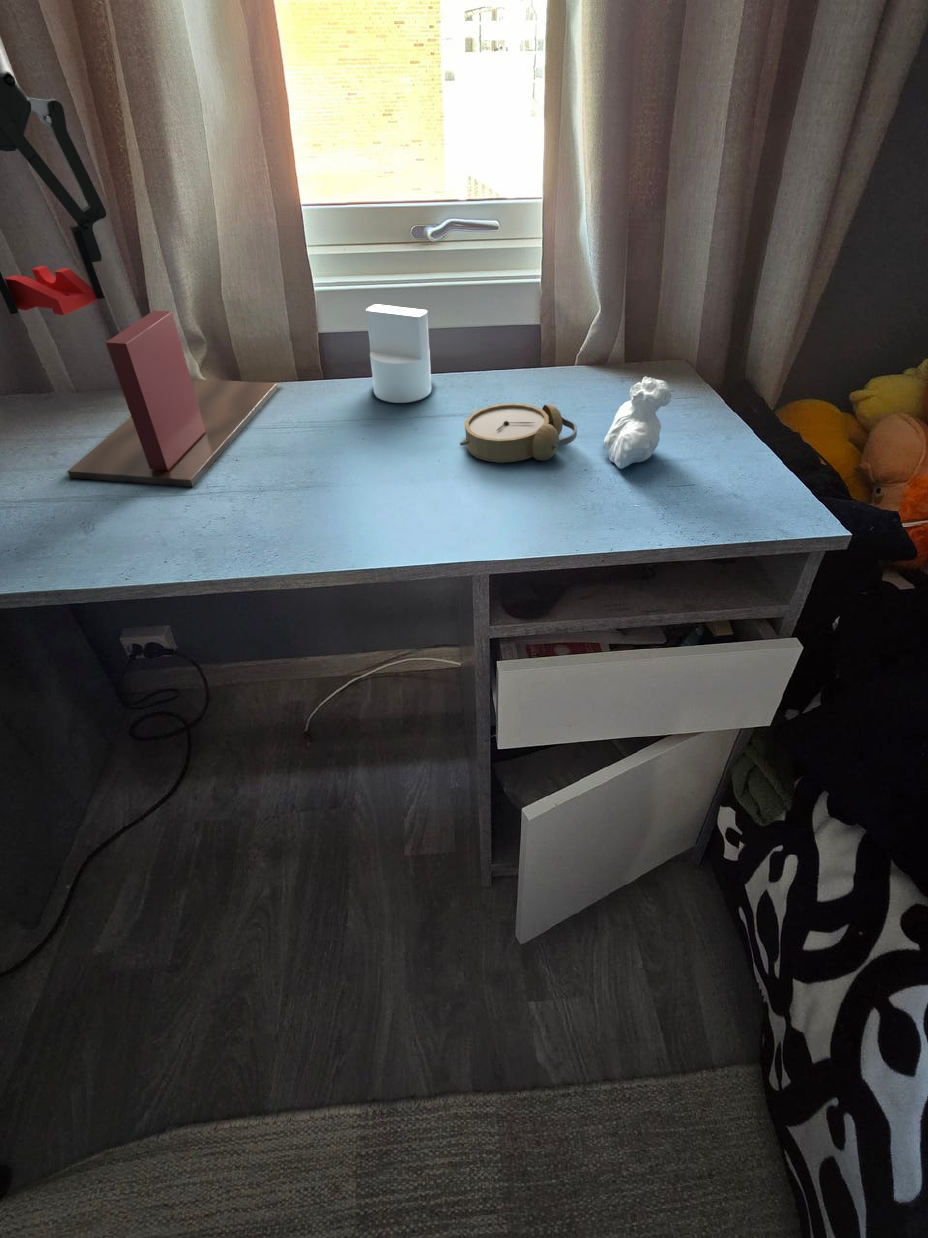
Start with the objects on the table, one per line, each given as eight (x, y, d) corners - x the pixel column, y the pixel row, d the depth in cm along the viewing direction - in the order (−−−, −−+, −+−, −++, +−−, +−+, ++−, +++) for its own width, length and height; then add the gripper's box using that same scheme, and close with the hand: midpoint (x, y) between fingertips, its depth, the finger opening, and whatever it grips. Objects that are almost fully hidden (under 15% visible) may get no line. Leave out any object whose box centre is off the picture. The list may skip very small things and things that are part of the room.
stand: (70, 478, 89) (67, 471, 88) (177, 383, 111) (176, 377, 110) (192, 486, 87) (190, 479, 86) (277, 388, 109) (276, 382, 108)
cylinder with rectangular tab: (363, 397, 106) (354, 316, 98) (390, 375, 112) (383, 297, 104) (416, 406, 103) (410, 323, 95) (440, 383, 109) (437, 304, 101)
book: (149, 469, 88) (105, 342, 77) (189, 429, 96) (153, 310, 85) (168, 470, 88) (125, 343, 77) (205, 430, 96) (172, 310, 85)
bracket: (17, 308, 73) (4, 278, 71) (52, 294, 76) (40, 265, 74) (63, 315, 71) (51, 284, 69) (97, 300, 74) (86, 270, 72)
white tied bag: (632, 493, 88) (702, 430, 81) (588, 458, 85) (657, 390, 79) (626, 448, 97) (689, 388, 90) (586, 415, 94) (648, 351, 88)
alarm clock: (471, 403, 97) (578, 392, 92) (477, 435, 100) (581, 426, 96) (454, 440, 88) (570, 430, 84) (461, 474, 92) (574, 466, 87)
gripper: (-210, 24, 52) (-52, 332, 67) (80, 15, 60) (163, 294, 75) (-198, 23, 57) (-53, 310, 72) (69, 15, 64) (149, 277, 80)
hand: (57, 302), depth 74 cm, fingers closed on bracket, 8 cm apart
